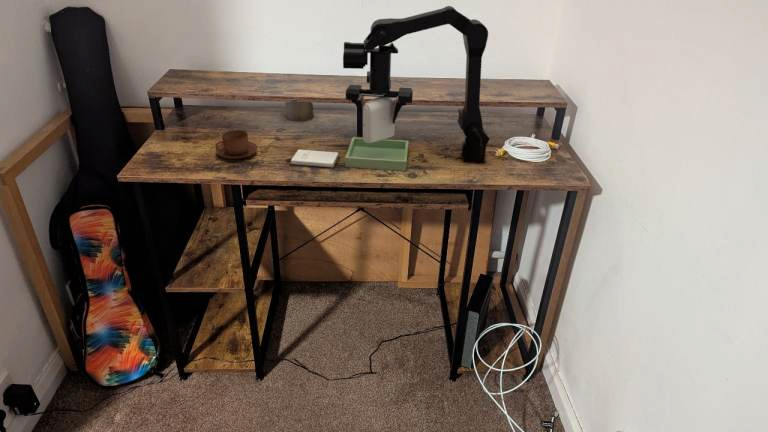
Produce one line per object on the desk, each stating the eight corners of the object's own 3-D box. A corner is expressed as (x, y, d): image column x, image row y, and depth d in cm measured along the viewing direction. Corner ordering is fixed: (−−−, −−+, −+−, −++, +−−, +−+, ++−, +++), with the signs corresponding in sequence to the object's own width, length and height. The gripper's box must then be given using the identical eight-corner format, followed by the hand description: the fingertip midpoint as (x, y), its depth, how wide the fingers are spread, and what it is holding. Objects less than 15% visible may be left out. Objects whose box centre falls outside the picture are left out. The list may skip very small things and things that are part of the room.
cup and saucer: (237, 166, 147) (234, 146, 144) (207, 156, 152) (204, 136, 149) (266, 152, 156) (264, 133, 153) (237, 143, 161) (234, 124, 158)
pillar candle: (318, 114, 186) (316, 73, 178) (304, 123, 178) (302, 80, 170) (294, 110, 189) (292, 69, 181) (280, 118, 181) (277, 76, 173)
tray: (408, 149, 161) (408, 140, 160) (405, 170, 148) (406, 161, 146) (352, 145, 162) (352, 137, 161) (345, 166, 149) (345, 157, 147)
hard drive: (333, 168, 148) (291, 164, 149) (339, 156, 155) (298, 153, 156) (333, 163, 147) (290, 159, 148) (339, 151, 154) (298, 148, 155)
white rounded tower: (369, 144, 148) (369, 103, 142) (360, 140, 151) (360, 99, 144) (396, 136, 154) (398, 96, 147) (387, 132, 156) (388, 92, 150)
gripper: (414, 63, 148) (411, 115, 156) (350, 59, 149) (350, 111, 157) (413, 73, 139) (410, 128, 147) (345, 69, 140) (345, 124, 148)
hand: (378, 122), depth 150 cm, fingers closed on white rounded tower, 8 cm apart
